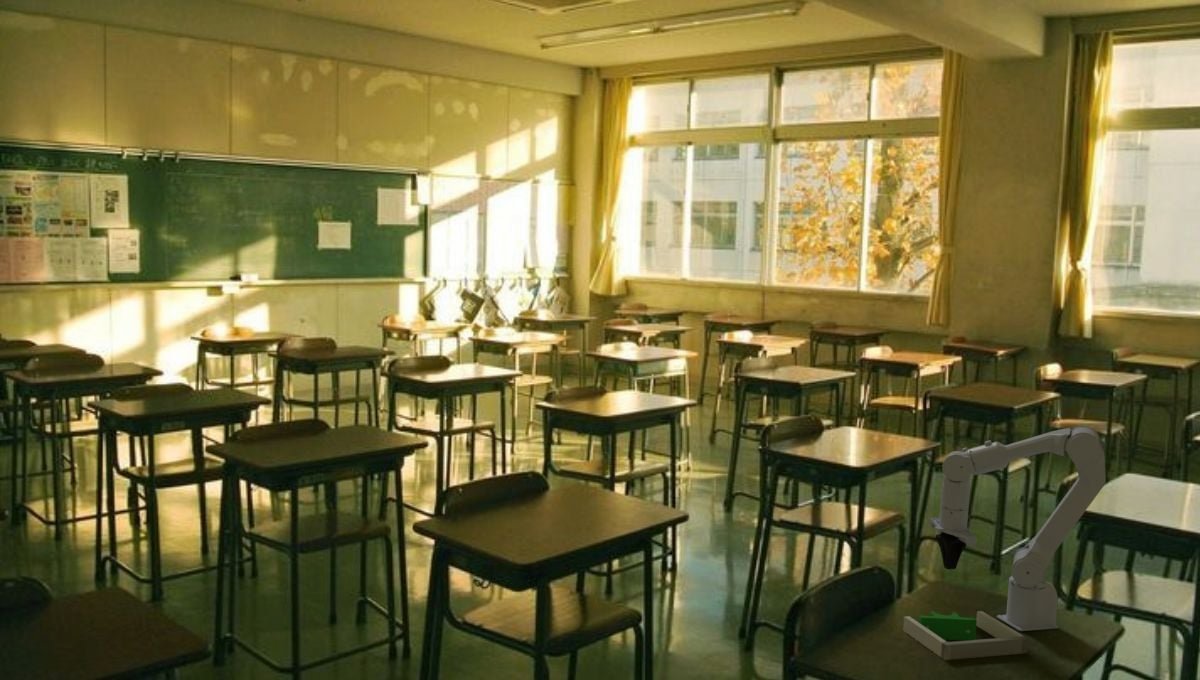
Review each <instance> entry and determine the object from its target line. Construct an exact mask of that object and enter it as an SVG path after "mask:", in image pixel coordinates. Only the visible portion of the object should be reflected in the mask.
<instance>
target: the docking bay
mask: <svg viewBox="0 0 1200 680" xmlns="http://www.w3.org/2000/svg"><path fill="white" fill-rule="evenodd" d="M975 619H976V620H977V623H976V627H977V628H980V629H981V630H982V631H985V632H986V633H988V635H990V636H992V637H994V638H984V639H982V638H981V639H975V640H969V641H968V640H956V641H947V640H946V639H942V638H941V637H939V636H938V635H936V634H935V633H933V632H932V631H930V630H929V629H928V627H927V626H926V627H924V626H923V625H921V624H920V623H919V621H917V620H916V619H914V618H913V617H911V616H909V615H908V616H907V615H906V616H903V625H902V626H903V629H902V630H903V632H904V633H906V634H907V635H908V634H909V636H910V637H911V638H913V639H914V638H915V639H914V640H915V641H917V642H918V641H919V643H920V644H921V645H922V646H924V647H925V648H927V649H928V650H929V651H931V652H932V651H933V652H932V653H934V655H937V656H938V657H940V658H941V659H942V660H944V661H948V660H964V659H973V658H974V659H975V658H985V657H987V658H988V657H996V656H997V657H998V656H1009V655H1010V656H1011V655H1022V654H1027V653H1028V643H1029V639H1028V637H1025V636H1024V635H1023V634H1021V633H1019V632H1018V631H1016V630H1015V629H1014V628H1011V627H1009V626H1008V625H1006V624H1004V623H1002V622H1001V621H999V619H998V620H997V619H996V618H995V617H992V616H991V615H989V614H987V613H986V612H984V611H983V610H982V611H979V610H978V611H976V618H975Z"/></svg>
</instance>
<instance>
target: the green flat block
mask: <svg viewBox="0 0 1200 680" xmlns="http://www.w3.org/2000/svg"><path fill="white" fill-rule="evenodd" d="M918 623H920V624H921V625H923V626H924V627H926V628H927V629H929V630H930V631H932V632H933V633H935V634H936V635H938V636H939V637H941V638H942V639H944V640H947V639H948V641H949V640H951V641H955V640H956V641H969V640H976V633H977V632H976V630H977V626H976V623H977V620H976V618H975V617H961V616H959V614H958V613H957V612H952V614H949V615H946V614H940V613H937V612H936V611H930V615H919V617H918ZM968 628H969V629H968Z"/></svg>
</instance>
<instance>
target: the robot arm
mask: <svg viewBox="0 0 1200 680" xmlns="http://www.w3.org/2000/svg"><path fill="white" fill-rule="evenodd" d="M1104 450H1105V448H1104V445H1103V443H1102V440H1101V438H1100V435H1099V433H1098V432H1097V431H1096V430H1095V429H1094V428H1092V427H1091V426H1089V425H1088V426H1087V425H1078V426H1075V427H1073V428H1072V429H1071V427H1067V428H1061V429H1057V430H1054V431H1048V432H1046V433H1043V434H1039V435H1036V436H1032V437H1029V438H1026V439H1022V440H1018V441H1016V442H1012V443H1009V444H1003V443H1001V442H999V441H994V442H992V441H991V439H990V440H986V441H985V442H984V444H981V445H979V446H974V447H971V448H968V447H967V446H966V447H963V448H962V449H961V451H960V450H955V451H952V452H949V453H948V455H946V457H945V458H944V460H943V462H942V465H941V468H942V474H943V477H942V485H941V491H940V492H941V494H940V495H941V496H940V509H939V517H930V518H929V527H930V528H934V530H935V531H936V532H939V533H940V534H935V540H936V541H937V543H938V546H939V549H940V552H941V553H940V554H941V558H942V565H943V567H944V569H946V570H956V569H957V567H958V563H959V561H960V558H961V555H962V553H963V551H964V550H965V549H966V547H967V546H968V547H971V546H972V547H973V546H974V547H975V546H977V545H978V544H977V543H978V542H977V541H978V536H977V535H975V534H974V533H973V532H972V531H971V530H970V529H969V528H968V522H969V521H968V520H969V518H968V517H969V506H970V492H971V487H970V476H971V475H973V476H977V475H981V474H982V475H983V474H986V473H990V472H994V471H997V470H1001V469H1006V468H1007V466H1008V464H1009V463H1010V461H1012V460H1017V459H1022V458H1025V457H1029V456H1035V455H1039V454H1044V453H1052V454H1056V455H1057V456H1060V457H1064V456H1065V452H1066V454H1067V455H1068V457H1069V458H1070V460H1071V461H1072V462H1073V463H1074V465H1075V468H1076V472H1077V475H1078V477H1077V479H1076V481H1074V483H1073V485H1071V487H1070V488H1069V490H1068V491H1067V493H1066V494H1065V495H1064V497H1063V498H1062V499H1061V501H1060V502H1059V503H1058V505H1057V506H1056V507H1055V509H1054V511H1053V512H1052V513H1051V515H1050V516H1049V517H1048V518H1047V520H1046V522H1044V524H1043V525H1042V527H1041V528H1040V529H1039V531H1038V532H1037V534H1036V535H1035V536H1034V537H1032V538H1031V540H1030V541H1029V542H1028V543H1027V544H1026V545H1025V546H1023V547H1021V548H1019V549H1018V550H1016V552H1015V553H1014V556H1013V563H1012V566H1011V570H1010V571H1011V576H1009V578H1008V588H1007V589H1008V590H1007V602H1006V613H1005V614H997V615H996V618H997V619H998V620H1000V621H1002V622H1004V623H1005V624H1007V625H1009V626H1011V627H1012V628H1013V629H1014V630H1017V631H1019V632H1026V631H1027V632H1028V631H1042V630H1043V631H1044V630H1054V629H1059V626H1058V625H1057V613H1058V601H1059V600H1058V599H1059V598H1058V597H1059V595H1058V592H1057V590H1056V588H1055V586H1054V585H1053V584H1052V583H1050V582H1049V581H1046V580H1044V578H1045V572H1046V568H1047V567H1048V566H1049V564H1050V562H1051V560H1052V558H1053V557H1054V554H1055V553H1056V551H1057V549H1059V547H1060V545H1062V543H1063V542H1064V540H1065V539H1066V537H1068V535H1069V533H1070V532H1071V530H1072V529H1073V528H1074V527H1075V525H1076V524H1077V523H1078V521H1079V520H1080V519H1081V517H1082V516H1083V515H1084V513H1085V512H1086V511H1087V510H1088V508H1089V507H1090V505H1091V504H1092V503H1093V501H1094V500H1095V498H1096V497H1097V496H1098V495H1099V493H1100V492H1101V491H1102V489H1103V487H1105V485H1106V460H1105V459H1106V458H1105V451H1104Z"/></svg>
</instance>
